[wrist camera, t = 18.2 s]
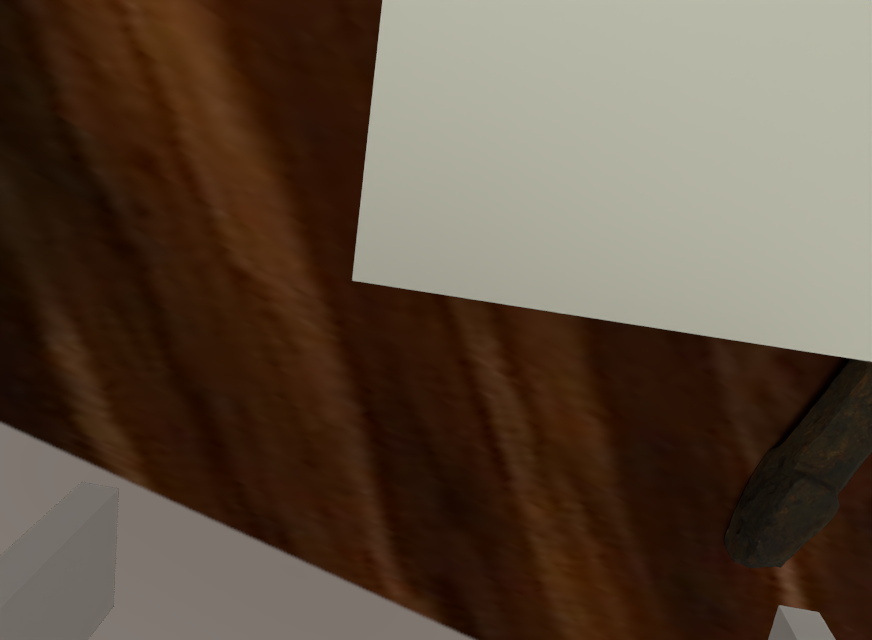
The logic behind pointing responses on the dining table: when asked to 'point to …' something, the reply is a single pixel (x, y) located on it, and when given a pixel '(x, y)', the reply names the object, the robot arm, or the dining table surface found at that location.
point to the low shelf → (629, 163)
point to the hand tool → (805, 474)
